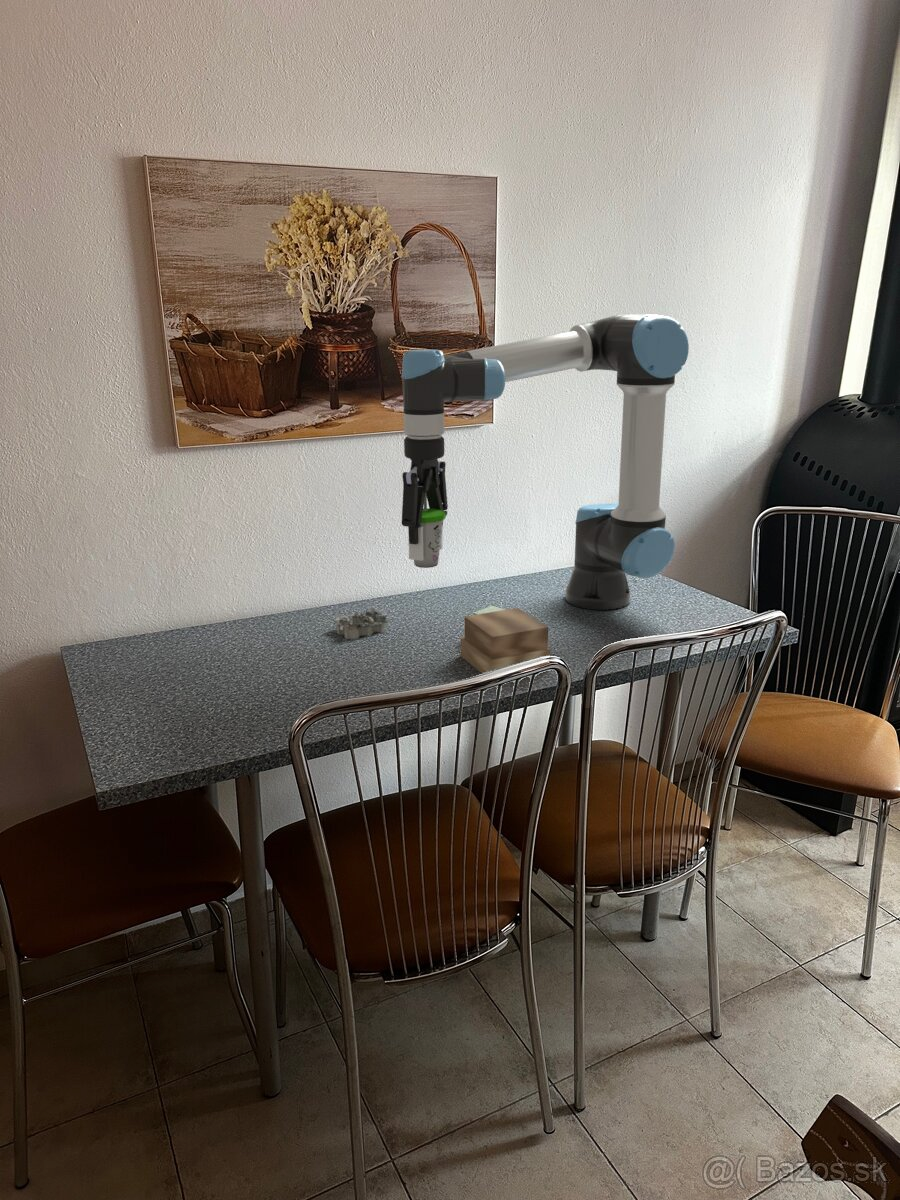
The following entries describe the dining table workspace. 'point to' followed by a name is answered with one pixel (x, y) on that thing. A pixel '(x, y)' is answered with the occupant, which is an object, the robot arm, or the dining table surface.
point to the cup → (431, 535)
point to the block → (488, 610)
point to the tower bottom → (487, 664)
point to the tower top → (506, 633)
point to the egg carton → (361, 624)
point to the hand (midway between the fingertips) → (426, 553)
